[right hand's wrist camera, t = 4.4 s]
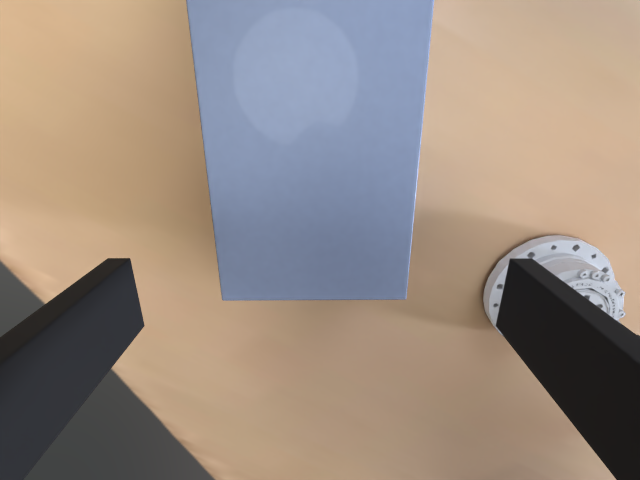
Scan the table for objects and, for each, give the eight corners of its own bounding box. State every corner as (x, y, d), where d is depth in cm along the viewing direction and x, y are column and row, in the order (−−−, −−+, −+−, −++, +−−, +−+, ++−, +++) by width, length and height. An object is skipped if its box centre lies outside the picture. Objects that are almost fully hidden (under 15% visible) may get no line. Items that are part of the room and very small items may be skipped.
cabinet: (223, -56, 22) (167, -149, 14) (401, -57, 22) (448, -151, 14) (249, 246, 29) (221, 301, 21) (382, 245, 29) (406, 300, 21)
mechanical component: (624, 246, 29) (509, 222, 28) (675, 270, 25) (542, 242, 24) (568, 345, 32) (464, 326, 32) (604, 381, 28) (486, 360, 27)
